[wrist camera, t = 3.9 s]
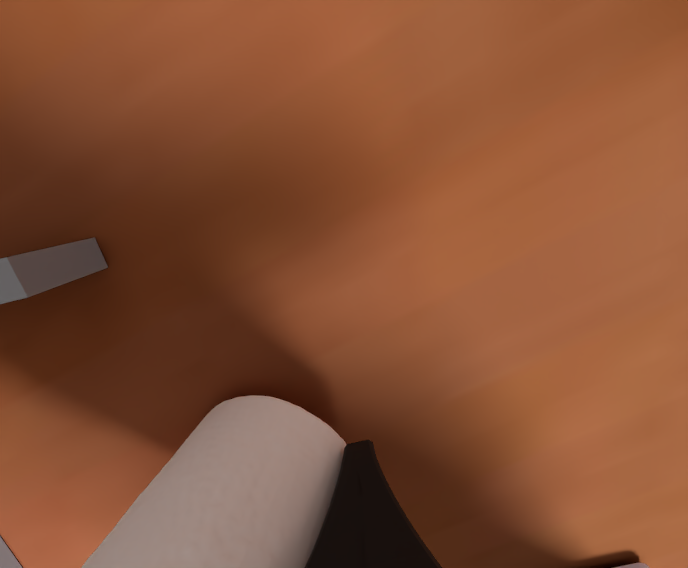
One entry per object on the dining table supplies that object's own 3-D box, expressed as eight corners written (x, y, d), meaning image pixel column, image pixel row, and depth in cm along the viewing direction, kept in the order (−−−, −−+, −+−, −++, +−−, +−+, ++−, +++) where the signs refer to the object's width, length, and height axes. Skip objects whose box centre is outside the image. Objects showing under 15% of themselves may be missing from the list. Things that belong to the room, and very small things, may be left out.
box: (264, 615, 16) (248, 711, 13) (62, 655, 16) (3, 758, 13) (94, 237, 11) (7, 257, 8) (-196, 308, 11) (-382, 353, 8)
